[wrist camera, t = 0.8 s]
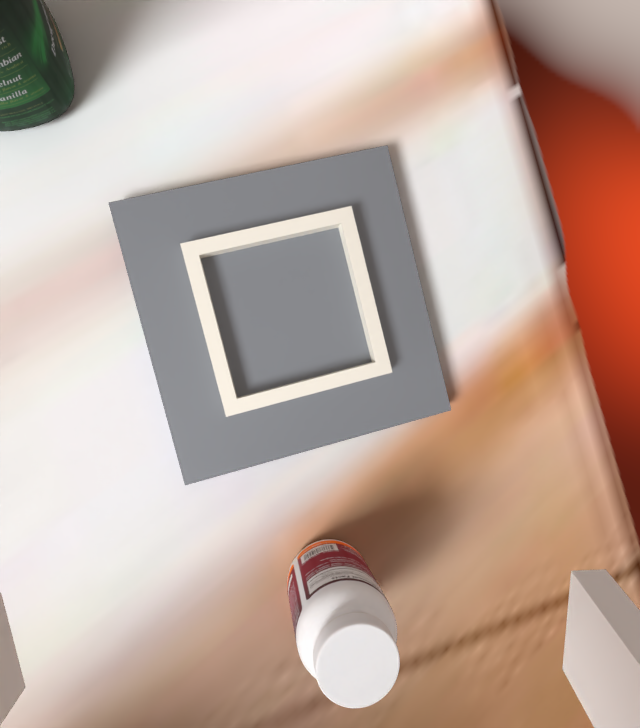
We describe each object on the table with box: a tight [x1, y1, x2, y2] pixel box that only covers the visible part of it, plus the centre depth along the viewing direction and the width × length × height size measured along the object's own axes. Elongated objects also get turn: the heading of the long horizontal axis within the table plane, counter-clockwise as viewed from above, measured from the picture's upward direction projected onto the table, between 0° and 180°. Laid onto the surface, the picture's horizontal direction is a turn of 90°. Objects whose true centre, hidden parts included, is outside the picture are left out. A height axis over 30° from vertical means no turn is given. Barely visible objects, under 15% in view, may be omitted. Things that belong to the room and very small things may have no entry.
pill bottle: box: [287, 539, 400, 708], centre depth 32 cm, size 6×6×11 cm
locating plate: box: [109, 145, 451, 485], centre depth 35 cm, size 20×20×3 cm
